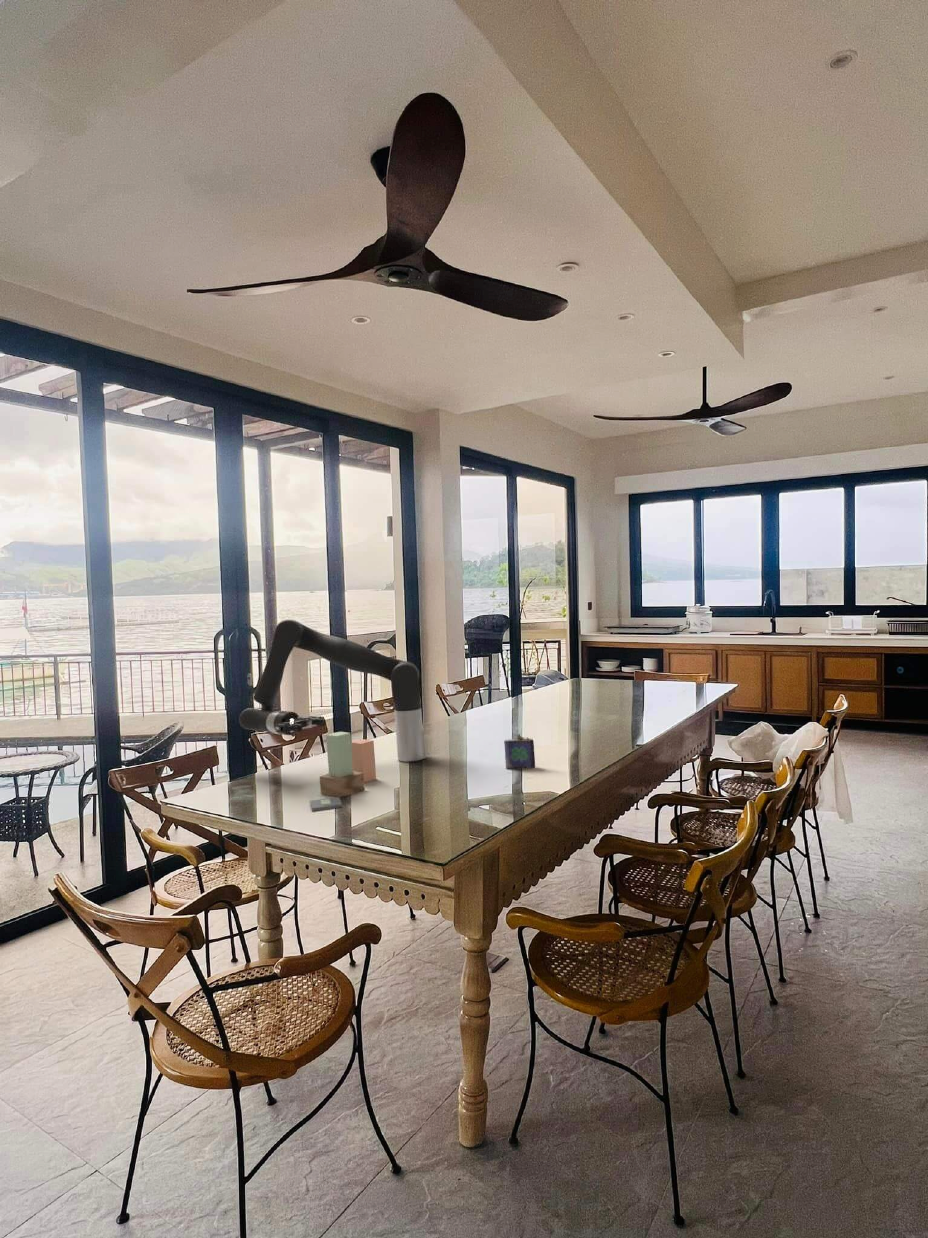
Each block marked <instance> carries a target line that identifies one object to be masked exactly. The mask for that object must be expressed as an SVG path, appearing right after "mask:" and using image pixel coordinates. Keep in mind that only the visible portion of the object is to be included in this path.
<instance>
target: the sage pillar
mask: <svg viewBox="0 0 928 1238" xmlns="http://www.w3.org/2000/svg"><path fill="white" fill-rule="evenodd" d="M325 737H326V751H327V764H328V765H327V766H328V774H329V776H334V777H339V778H340V777H343V776H347V775H350V774H353V761H352V748H351V742H352V737H351V732H345V731H337V732H332V733H329V734H328V733H327V734H326V735H325Z"/></svg>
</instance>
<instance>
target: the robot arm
mask: <svg viewBox="0 0 928 1238" xmlns="http://www.w3.org/2000/svg"><path fill="white" fill-rule="evenodd" d="M272 637H273V639H272V643H271V647H270V652H269V655H268V658H267V661H266V663H265V666H264V669H263V672H262V674H261V675H260V676H261V677H260V679H259V681H258V683H257V686H256V688H255V691H254V694H253V700H254V701H255V702H256V703H258V704H260V705H261V709H257V708H251V707H248V708H246V709H243V710H242V711H241V713H240V714H239V716H238V721H239V725H240V726H241V727H242V728H243V729H245V730H250V731H253V732H254V731H255V732H259V733H264V732H267V733H272V734H276V735H283V736H293V735H295V734H297V733H301V732H303V730H304V729H311V728H313V727H321V728H322V727H326V720H325V719H324V718H323V716H321V715H320V716H319V715H318V716H316V715H309V716H304V717H303V716H300V715H299V714H298V713H297V712H295V711H289V710H274V703H275V700H276V697H277V695H278V693H279V690H280V688H281V684H282V682H283V681H282V680H283V677H284V672H285V668H286V664H287V662H288V659H289V656H290V655H291V653H292V651H293V650H294V648H296V649H300V650H303V651H307V652H311V653H314V654H316V655H317V656H319V657H321V658H322V659H324V660H326V661H328V662H330V663H332V664H335V665H336V666H339V667H342V668H345V669H348V670H351V671H354V672H358V673H359V672H360V673H364V674H370V675H375V676H379V677H380V678H384V679H385V680H387V681H390V682H391V693H392V703H393V709H394V723H395V724H394V725H395V739H396V748H397V749H396V751H397V753H396V755H397V760H398V761H399V762H407V763H408V762H416V761H421V760H423V759H427V752H426V748H427V747H426V738H425V737H426V736H425V735H426V734H425V731H424V729H423V728H424V727H423V716H422V701H421V694H420V692H421V690H420V681H419V678H420V671H419V668H418V667H417V666H416V664H414V663H412V662H410V661H406V660H403V659H402V660H401V659H398V658H394V657H390V656H387V655H384V654H381V653H379V652H377V651H375V650H373V649H371V648H369V647H366V646H364V645H362V644H359V643H357V642H354V641H352V640H348V639H346V638H343V637H342V638H341V637H338V636H334V635H330V634H325V633H322V632H319V631H317V630H314V629H312V628H310V627H309V626H306V625H304V624H303V623H301V622H299V621H296V620H294V619H284V620H281V621H280V622H279V623H278V624H277V625H276V626H275V629H274V633H273V636H272Z"/></svg>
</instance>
